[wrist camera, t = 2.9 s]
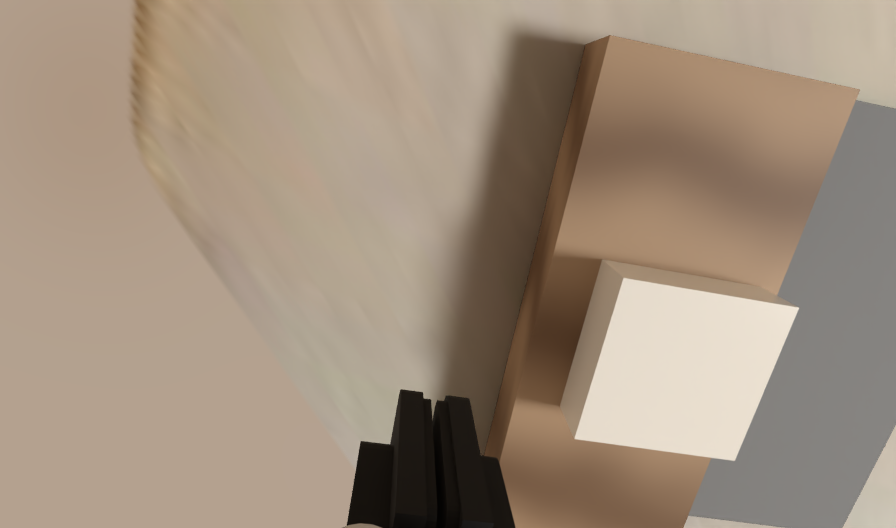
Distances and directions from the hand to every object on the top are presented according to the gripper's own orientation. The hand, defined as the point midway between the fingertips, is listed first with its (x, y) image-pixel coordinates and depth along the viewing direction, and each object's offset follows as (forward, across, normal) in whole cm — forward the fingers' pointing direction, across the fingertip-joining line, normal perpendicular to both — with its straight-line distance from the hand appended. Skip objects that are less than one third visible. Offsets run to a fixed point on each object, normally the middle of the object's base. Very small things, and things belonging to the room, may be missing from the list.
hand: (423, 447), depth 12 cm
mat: (+9, -17, -2) cm, 19 cm away
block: (+6, -9, -1) cm, 11 cm away
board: (+9, -8, -2) cm, 12 cm away
